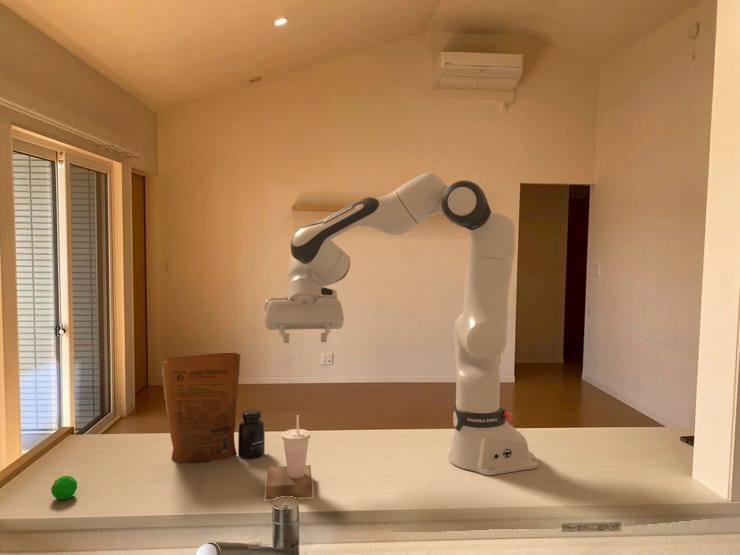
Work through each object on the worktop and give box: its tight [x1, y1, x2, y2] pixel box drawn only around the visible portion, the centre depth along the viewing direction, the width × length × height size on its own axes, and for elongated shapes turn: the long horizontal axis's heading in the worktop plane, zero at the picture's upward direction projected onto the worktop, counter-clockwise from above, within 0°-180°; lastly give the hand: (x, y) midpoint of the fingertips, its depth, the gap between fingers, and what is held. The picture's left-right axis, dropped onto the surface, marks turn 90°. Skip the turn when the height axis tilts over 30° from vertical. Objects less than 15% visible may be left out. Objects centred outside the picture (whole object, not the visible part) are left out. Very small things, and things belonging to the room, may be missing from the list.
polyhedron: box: [50, 475, 78, 501], centre depth 122 cm, size 5×5×5 cm
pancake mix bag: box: [161, 352, 241, 464], centre depth 143 cm, size 7×19×28 cm, turn 99°
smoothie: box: [281, 414, 311, 478], centre depth 127 cm, size 6×6×14 cm
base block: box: [265, 464, 312, 499], centre depth 127 cm, size 10×10×3 cm
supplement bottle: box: [237, 408, 266, 460], centre depth 146 cm, size 7×7×12 cm
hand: (305, 341), depth 141 cm, fingers open, 8 cm apart
